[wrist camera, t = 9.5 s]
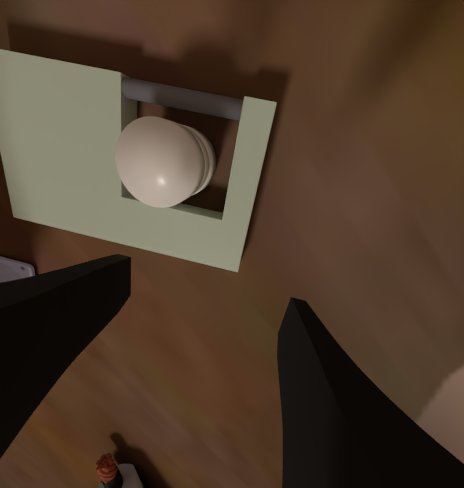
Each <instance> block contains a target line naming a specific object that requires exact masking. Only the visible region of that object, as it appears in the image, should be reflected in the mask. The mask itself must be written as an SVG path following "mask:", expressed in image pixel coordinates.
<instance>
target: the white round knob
mask: <svg viewBox="0 0 464 488" xmlns="http://www.w3.org/2000/svg"><path fill="white" fill-rule="evenodd" d="M115 161H116V167H117V171H118V174H119V176H120V178H121V180H122V182H123V184H124V186H125V187H126V188H127V190H128V191H129V192H130V193H131V194H132V195H133V196H134V197H135V198H136V199H138V200H139V201H141V202H142V203H145V204H147V205H149V206H152V207H158V208H166V207H171V206H174V205H176V204H178V203H180V202H182V201H184V200H185V199H187V198H189V197H190V196H192V195H194V194H196V193H198V192H200V191H201V190H203V189H204V188H206V187H207V186H208V185H209V183H210V182H211V181H212V179H213V177H214V174H215V171H216V155H215V151H214V149H213V146H212V144H211V143H210V141H209V140H208V138H207V137H206V136H205V135H204V134H203V133H201V132H200V131H198V130H197V129H195V128H192V127H189V126H186V125H182V124H178V123H176V122H173V121H170V120H166V119H163V118H160V117H154V116H147V117H141V118H138V119H136V120H134V121H132V122H131V123H130V124H128V125H127V126H126V127H125V128H124V130H123V131H122V132H121V134H120V136H119V138H118V141H117V145H116V151H115Z"/></svg>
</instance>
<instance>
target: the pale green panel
mask: <svg viewBox="0 0 464 488" xmlns="http://www.w3.org/2000/svg"><path fill="white" fill-rule="evenodd" d="M137 101H142V102H147V103H152V104H157V105H162V106H167V107H172V108H177V109H182V110H187V111H192V112H197V113H202V114H207V115H212V116H217V117H222V118H227V119H232V120H237V121H240V123H239V129H238V134H237V140H236V145H235V151H234V156H233V162H232V167H231V173H230V179H229V184H228V190H227V195H226V201H225V206H224V212H223V213H222V212H217V211H213V210H209V209H204V208H200V207H195V206H191V205H187V204H182V203H178V204H176V205H174V206H171V207H166V208H158V207H152V206H149V205H147V204H145V203H142V202H141V201H139V200H138V199H136V198H135V197H134V196H133V195H132V194H131V193H130V192H129V191H128V190H127V188H126V187H125V186H124V184H123V182H122V180H121V178H120V176H119V174H118V171H117V167H116V161H115V151H116V145H117V141H118V138H119V136H120V134H121V132H122V131H123V130H124V128H125V127H126V126H127V125H128V124H130V123H131V122H132V121H134V120H136V119H137ZM276 104H277V102H272V101H267V100H262V99H257V98H252V97H246V96H244V100H243V99H237V98H232V97H227V96H222V95H217V94H211V93H206V92H201V91H196V90H191V89H186V88H180V87H175V86H170V85H165V84H160V83H155V82H149V81H144V80H139V79H134V78H130V77H128V76H126V75H125V74H123V73H121V72H116V71H111V70H106V69H101V68H95V67H90V66H85V65H80V64H75V63H69V62H64V61H59V60H54V59H49V58H43V57H38V56H33V55H28V54H23V53H17V52H12V51H7V50H2V49H0V153H1V158H2V162H3V167H4V172H5V177H6V182H7V187H8V192H9V197H10V202H11V207H12V211H13V216H14V217H15V218H19V219H23V220H27V221H31V222H35V223H39V224H43V225H47V226H51V227H55V228H59V229H64V230H68V231H72V232H76V233H80V234H84V235H88V236H92V237H96V238H100V239H104V240H108V241H112V242H116V243H121V244H125V245H129V246H133V247H137V248H141V249H145V250H149V251H153V252H157V253H161V254H165V255H169V256H173V257H178V258H182V259H186V260H190V261H194V262H198V263H202V264H206V265H210V266H214V267H218V268H222V269H226V270H230V271H235V272H238V269H239V265H240V261H241V257H242V252H243V248H244V244H245V239H246V235H247V231H248V226H249V222H250V218H251V213H252V209H253V205H254V201H255V196H256V192H257V188H258V183H259V179H260V175H261V170H262V166H263V162H264V157H265V153H266V149H267V144H268V140H269V136H270V131H271V127H272V123H273V119H274V114H275V110H276Z"/></svg>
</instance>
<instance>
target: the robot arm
mask: <svg viewBox="0 0 464 488" xmlns="http://www.w3.org/2000/svg"><path fill="white" fill-rule="evenodd" d="M130 295H131V257H128V256H124V255H120V254H116V255H111V256H107V257H103V258H99V259H96V260H92V261H88V262H85V263H81V264H78V265H74V266H70V267H67V268H63V269H59V270H55V271H51V272H47V273H43V274H39V275H35V270H34V267H33V266H32V265H31V264H28V263H24V262H20V261H16V260H12V259H8V258H5V257H1V256H0V458H1V457H2V455H3V454H4V453H5V451H6V450H7V448H8V447H9V446H10V444H11V443H12V441H13V440H14V438H15V437H16V436H17V434H18V433H19V431H20V430H21V429H22V427H23V426H24V424H25V423H26V421H27V420H28V419H29V417H30V416H31V415H32V413H33V412H34V411H35V409H36V408H37V407H38V405H39V404H40V403H41V401H42V400H43V399H44V397H45V396H46V395H47V393H48V392H49V391H50V389H51V388H52V387H53V386H54V384H55V383H56V382H57V380H58V379H59V378H60V377H61V375H62V374H63V373H64V372H65V370H66V369H67V368H68V367H69V365H70V364H71V363H72V362H73V361H74V360H75V358H76V357H77V356H78V355H79V354H80V353H81V352H82V351H83V350H84V349H85V348H86V347H87V346H88V345H89V343H90V342H91V341H92V340H93V339H94V338H95V337H96V336H97V335H98V334H99V333H100V332H101V331H102V330H103V329H104V327H105V326H106V325H107V324H108V323H109V322H110V321H111V320H112V319H113V318H114V317H115V315H116V314H117V313H118V312H119V311H120V309H121V308H122V306H123V305H124V304H125V302H126V301H127V299H128V298H129V296H130ZM277 360H278V372H279V384H280V396H281V407H282V422H283V483H282V488H464V464H463V463H462V462H461V461H459V460H458V459H457V458H456V457H455V456H453V455H452V454H451V453H450V452H449V451H447V450H446V449H445V448H444V447H442V446H441V445H440V444H439V443H438V442H436V441H435V440H434V439H433V438H432V437H431V436H430V435H428V434H427V433H426V432H425V431H424V430H423V429H421V428H420V427H419V426H418V425H417V424H416V423H415V422H414V421H413V420H412V419H410V418H409V417H408V416H407V415H406V414H405V413H404V412H403V411H402V410H401V409H400V408H398V407H397V406H396V405H395V404H394V403H393V402H392V401H391V400H390V399H389V398H388V397H387V396H386V395H385V394H384V393H383V392H382V391H381V390H380V389H379V388H378V387H377V386H376V385H375V384H374V383H373V382H372V381H371V380H370V379H369V378H368V377H367V376H366V375H365V374H364V373H363V372H362V371H361V370H360V368H359V367H358V366H357V365H356V364H355V363H354V362H353V361H352V359H351V358H350V357H349V356H348V355H347V354H346V352H345V351H344V350H343V349H342V348H341V347H340V345H339V344H338V343H337V342H336V340H335V339H334V338H333V337H332V335H331V334H330V333H329V331H328V330H327V329H326V327H325V326H324V325H323V323H322V322H321V321H320V319H319V318H318V317H317V315H316V314H315V313H314V311H313V310H312V309H311V307H310V306H309V305H308V303H307V302H306V301H304V300H300V299H296V298H292V297H291V299H290V302H289V305H288V307H287V310H286V313H285V316H284V318H283V321H282V324H281V327H280V330H279V332H278V347H277Z"/></svg>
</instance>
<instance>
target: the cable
mask: <svg viewBox="0 0 464 488" xmlns="http://www.w3.org/2000/svg"><path fill="white" fill-rule="evenodd" d="M96 467H97V468H96V470H97V471H98V474H99V476H100V478H101V483H100V484H99V486H98V488H145V487H144V485H143V483H142V482H141V481H140V479H139V476H138V474H137V472H136V470H135V468H134V465H132V464H120V465H118V466H116V464H115V463H114V460H113V459H112V456H111V453H108V454H107V455H105V454H104V455H102V456H101V460H98V461H97V463H96Z"/></svg>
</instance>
